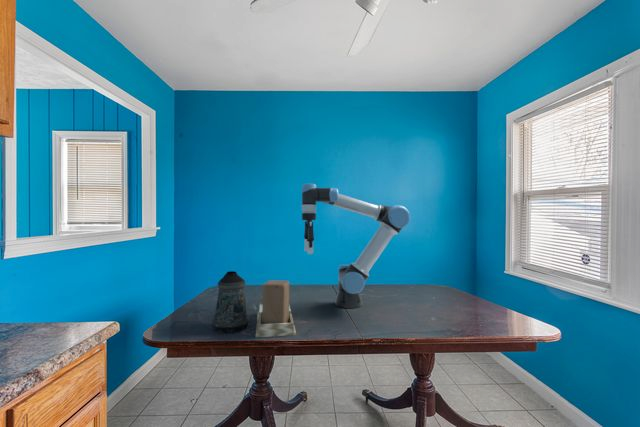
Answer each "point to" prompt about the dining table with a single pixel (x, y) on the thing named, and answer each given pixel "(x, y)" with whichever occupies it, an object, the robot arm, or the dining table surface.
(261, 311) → the lid
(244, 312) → the beer stein
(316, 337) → the dining table surface
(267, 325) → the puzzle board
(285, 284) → the wooden block
